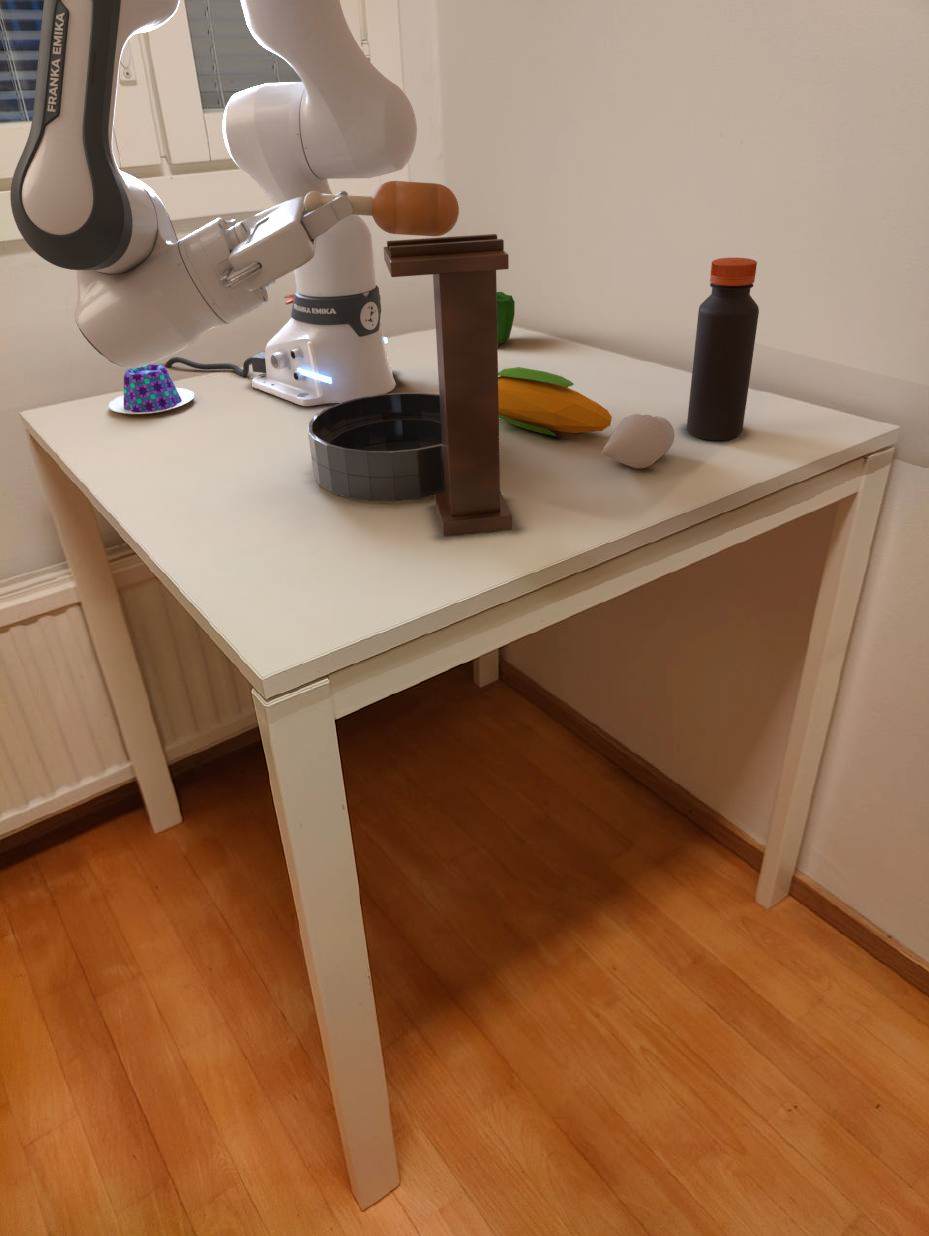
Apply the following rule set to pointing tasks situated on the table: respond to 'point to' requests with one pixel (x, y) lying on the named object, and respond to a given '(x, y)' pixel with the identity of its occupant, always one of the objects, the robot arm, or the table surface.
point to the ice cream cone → (640, 440)
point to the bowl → (380, 447)
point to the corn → (547, 403)
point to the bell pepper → (504, 316)
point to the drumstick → (402, 207)
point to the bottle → (723, 352)
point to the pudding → (149, 392)
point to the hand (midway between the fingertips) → (350, 200)
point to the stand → (464, 372)
